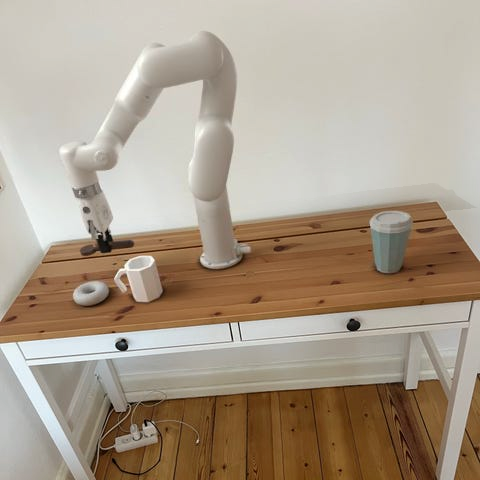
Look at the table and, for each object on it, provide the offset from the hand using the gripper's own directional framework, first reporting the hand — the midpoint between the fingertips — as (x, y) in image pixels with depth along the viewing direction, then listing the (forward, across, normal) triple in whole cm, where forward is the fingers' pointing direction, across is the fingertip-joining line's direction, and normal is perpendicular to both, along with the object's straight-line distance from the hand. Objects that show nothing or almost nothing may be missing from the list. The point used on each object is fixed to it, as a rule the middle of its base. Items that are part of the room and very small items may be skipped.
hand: (107, 249), depth 155 cm
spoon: (0, 0, +1) cm, 1 cm away
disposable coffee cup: (+11, -7, -78) cm, 79 cm away
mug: (+9, -12, -10) cm, 18 cm away
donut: (+9, -12, +4) cm, 15 cm away
